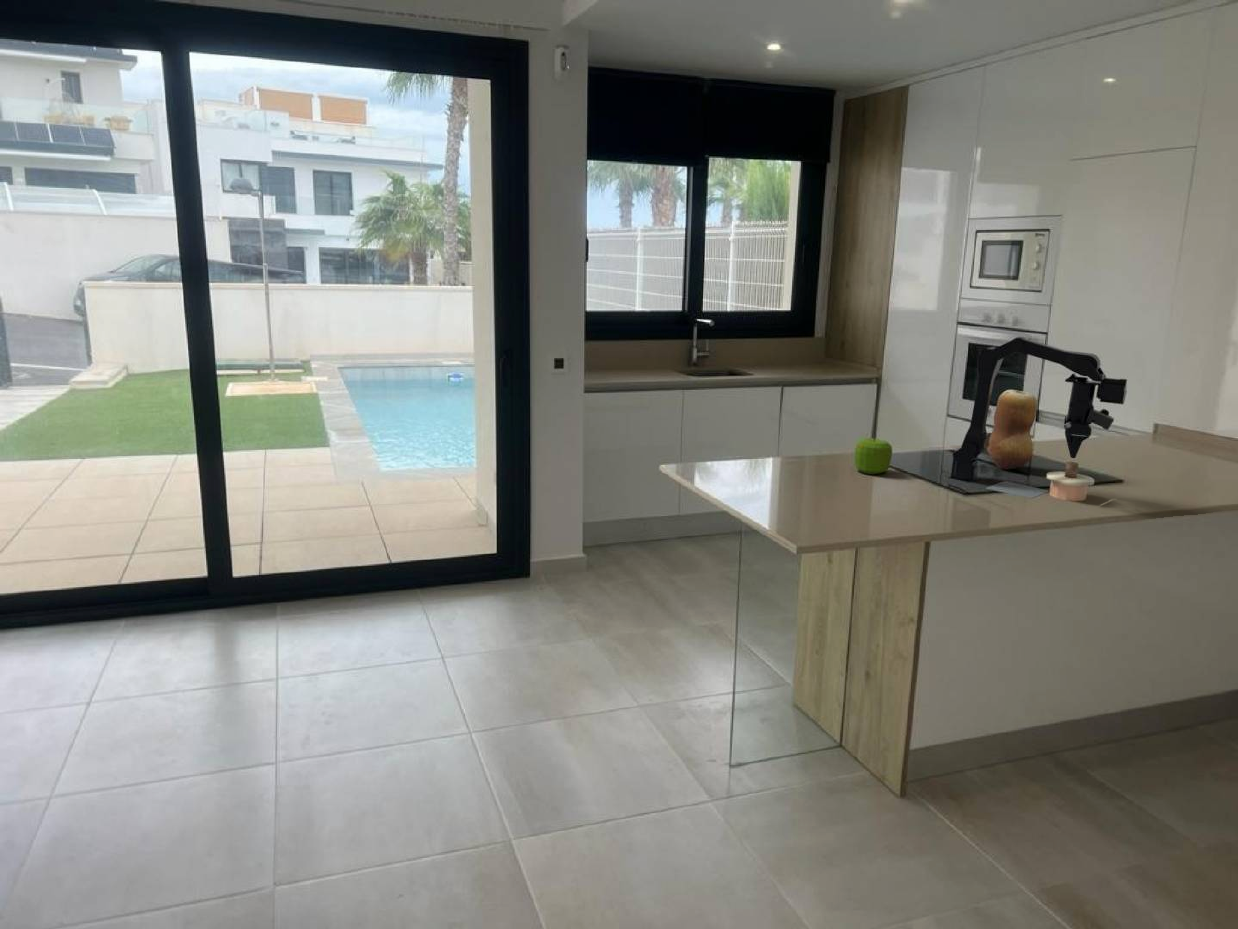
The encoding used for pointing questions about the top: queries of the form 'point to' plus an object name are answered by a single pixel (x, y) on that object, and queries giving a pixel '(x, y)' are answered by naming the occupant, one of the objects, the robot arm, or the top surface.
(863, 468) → the apple
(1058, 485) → the bowl
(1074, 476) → the lid
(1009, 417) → the butternut squash
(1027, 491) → the mat
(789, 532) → the top surface
